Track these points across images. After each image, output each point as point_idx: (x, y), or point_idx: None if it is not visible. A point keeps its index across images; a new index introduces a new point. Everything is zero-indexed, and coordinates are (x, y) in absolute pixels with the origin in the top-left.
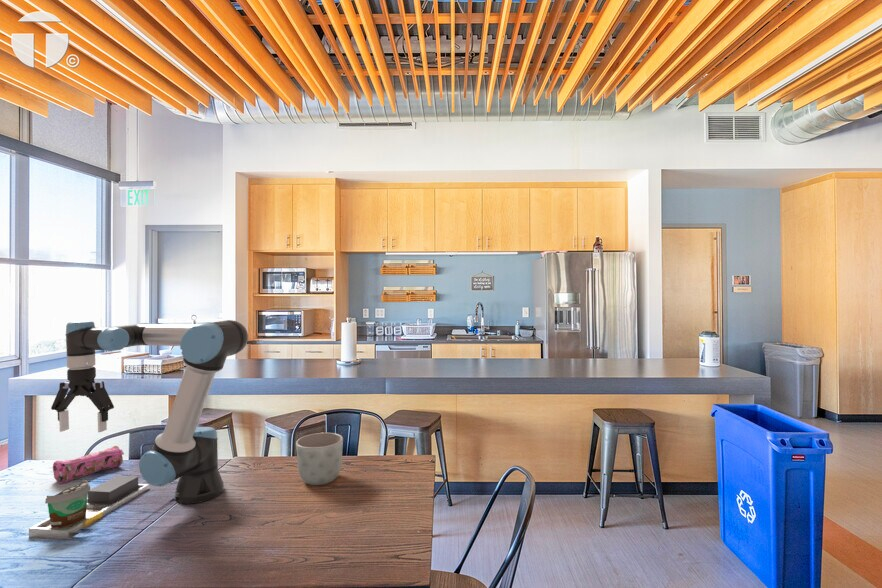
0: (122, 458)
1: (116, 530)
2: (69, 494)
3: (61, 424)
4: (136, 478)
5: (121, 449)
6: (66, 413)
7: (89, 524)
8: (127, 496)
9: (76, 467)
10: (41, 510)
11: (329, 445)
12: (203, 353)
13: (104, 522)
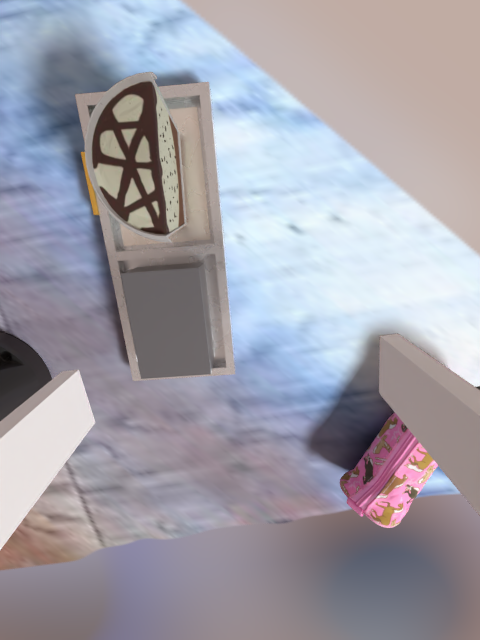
0: (341, 488)
1: (12, 175)
2: (92, 121)
3: (411, 360)
4: (140, 371)
5: (360, 515)
6: (473, 481)
7: None
8: (119, 309)
9: None
10: (328, 230)
11: None
12: None
13: (87, 206)
